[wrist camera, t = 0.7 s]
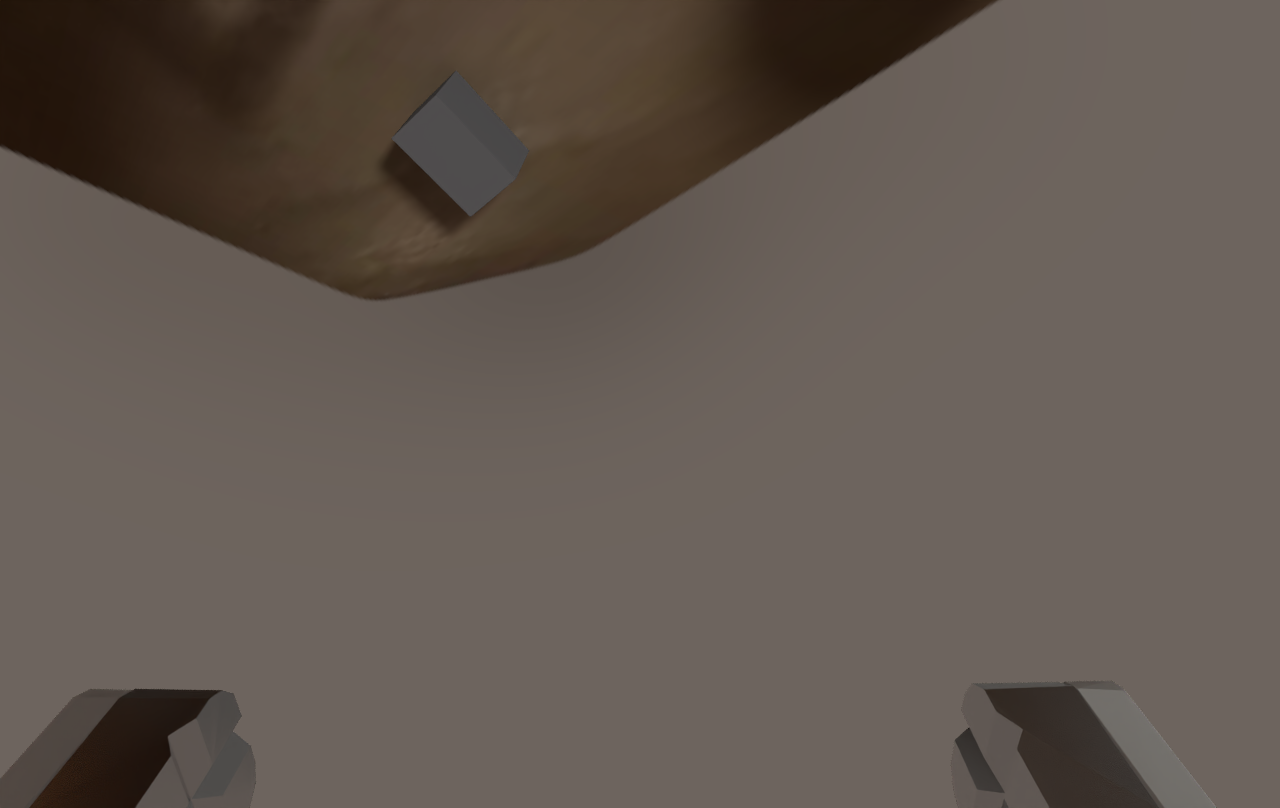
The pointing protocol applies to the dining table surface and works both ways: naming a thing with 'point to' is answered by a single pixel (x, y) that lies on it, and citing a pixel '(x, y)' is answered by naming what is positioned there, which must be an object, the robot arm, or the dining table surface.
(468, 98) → the dark grey block
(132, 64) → the dining table surface
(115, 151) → the dining table surface
